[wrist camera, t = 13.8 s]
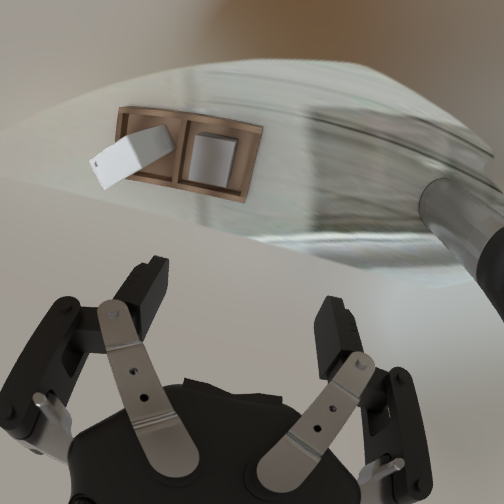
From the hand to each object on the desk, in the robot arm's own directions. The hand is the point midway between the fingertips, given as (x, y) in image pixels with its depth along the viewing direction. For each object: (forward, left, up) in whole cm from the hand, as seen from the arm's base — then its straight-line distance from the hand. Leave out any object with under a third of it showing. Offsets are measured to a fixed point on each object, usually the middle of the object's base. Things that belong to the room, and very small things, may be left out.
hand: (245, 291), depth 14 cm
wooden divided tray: (+12, 0, -28) cm, 30 cm away
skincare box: (+16, 0, -27) cm, 32 cm away
